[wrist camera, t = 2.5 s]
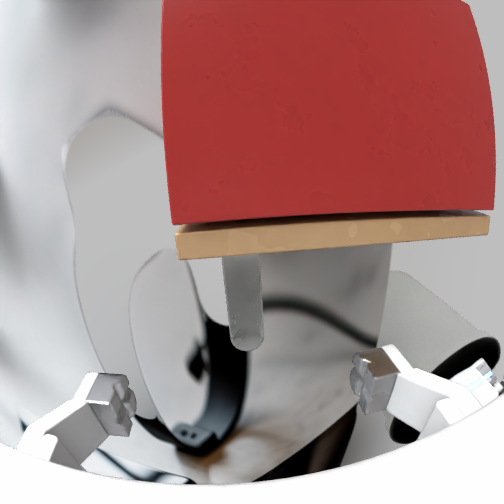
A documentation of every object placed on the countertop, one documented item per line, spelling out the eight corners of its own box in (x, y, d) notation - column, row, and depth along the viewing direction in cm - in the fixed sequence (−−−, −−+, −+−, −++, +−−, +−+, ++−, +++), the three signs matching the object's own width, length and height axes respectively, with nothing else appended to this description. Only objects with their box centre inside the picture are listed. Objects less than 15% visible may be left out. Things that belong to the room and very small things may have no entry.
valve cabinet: (350, 174, 23) (494, 210, 8) (210, 181, 22) (171, 226, 7) (343, 73, 20) (469, 4, 5) (203, 73, 19) (165, -46, 5)
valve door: (349, 245, 25) (461, 343, 10) (217, 256, 24) (204, 393, 10) (350, 177, 23) (490, 216, 8) (210, 184, 22) (174, 233, 8)
